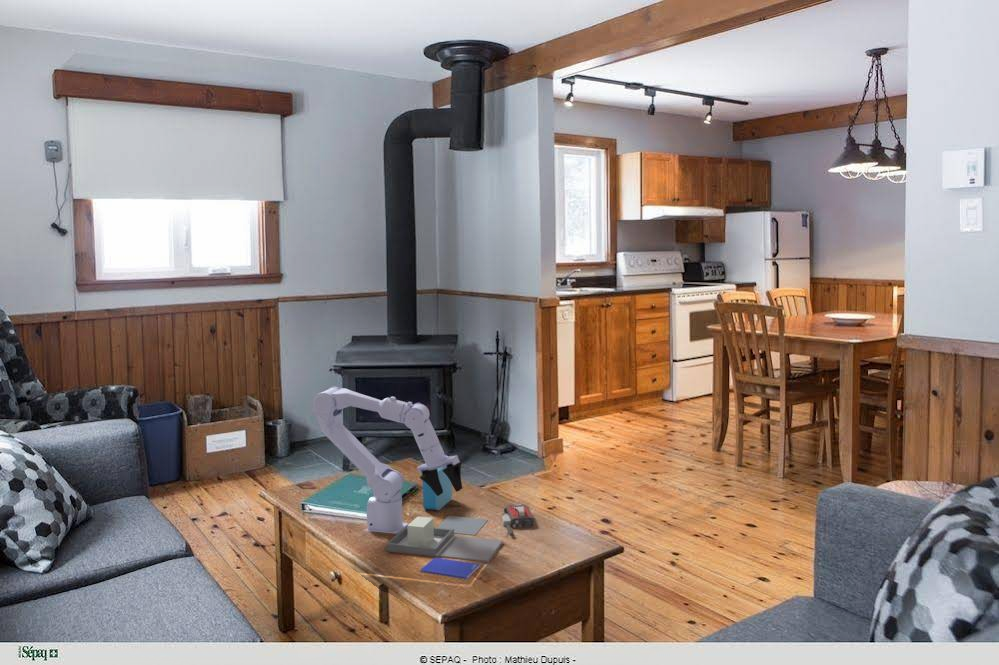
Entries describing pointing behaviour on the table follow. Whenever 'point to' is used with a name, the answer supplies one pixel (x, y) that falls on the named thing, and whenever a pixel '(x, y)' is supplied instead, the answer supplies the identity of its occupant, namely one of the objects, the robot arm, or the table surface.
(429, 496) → the blue block
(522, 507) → the walkie-talkie
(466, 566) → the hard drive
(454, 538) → the equipment case
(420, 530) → the block
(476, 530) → the slate mat
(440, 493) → the robot arm
